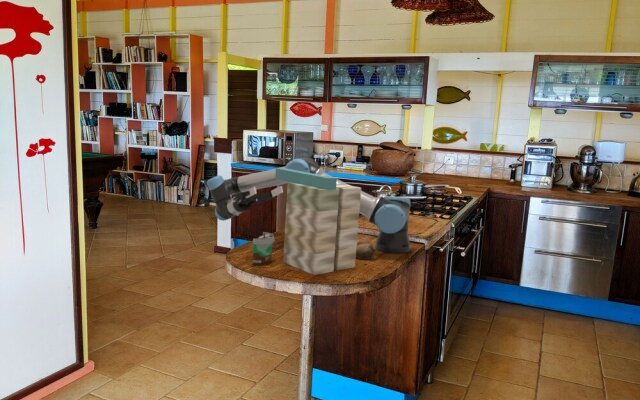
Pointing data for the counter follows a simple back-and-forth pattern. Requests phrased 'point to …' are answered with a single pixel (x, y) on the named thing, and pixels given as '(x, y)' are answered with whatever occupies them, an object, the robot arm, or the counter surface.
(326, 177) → the beam
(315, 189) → the block stand
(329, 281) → the counter surface
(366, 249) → the mushroom
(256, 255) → the food container
